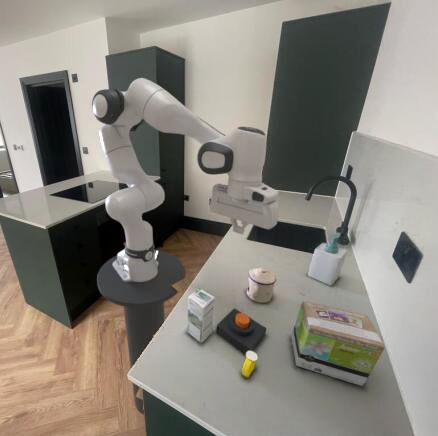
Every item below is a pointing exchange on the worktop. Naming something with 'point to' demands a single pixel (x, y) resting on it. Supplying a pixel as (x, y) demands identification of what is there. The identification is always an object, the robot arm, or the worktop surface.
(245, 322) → the orange button cap
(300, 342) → the tea box
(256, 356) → the yellow chunky piece
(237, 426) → the worktop surface
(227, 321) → the button base
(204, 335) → the syrup box
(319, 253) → the soap bottle
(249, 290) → the teacup with lid
